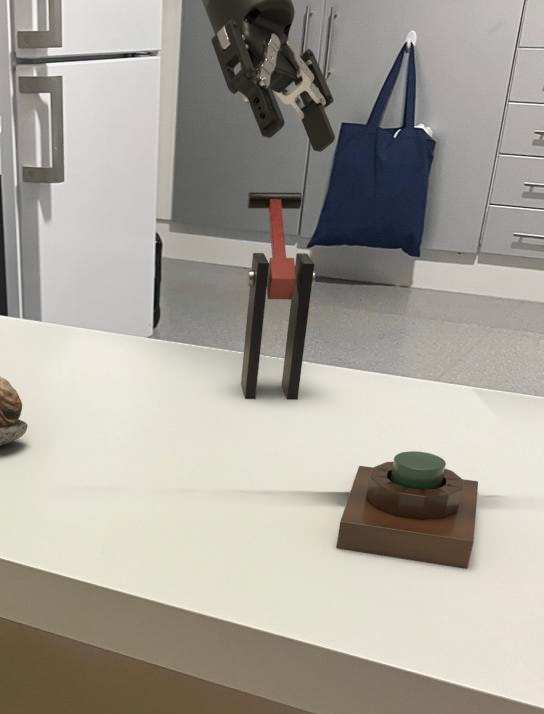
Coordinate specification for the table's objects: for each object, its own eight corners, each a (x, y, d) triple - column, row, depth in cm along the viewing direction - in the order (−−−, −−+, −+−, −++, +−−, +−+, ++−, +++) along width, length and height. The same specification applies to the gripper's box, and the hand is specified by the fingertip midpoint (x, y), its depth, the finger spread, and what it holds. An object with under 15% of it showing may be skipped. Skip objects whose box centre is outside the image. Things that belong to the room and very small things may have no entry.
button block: (355, 490, 82) (362, 443, 80) (472, 507, 79) (483, 459, 77) (335, 548, 73) (343, 498, 71) (466, 569, 71) (479, 517, 68)
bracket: (222, 388, 104) (234, 246, 96) (301, 389, 103) (319, 247, 96) (230, 422, 95) (243, 270, 88) (316, 424, 95) (337, 270, 88)
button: (392, 470, 76) (396, 448, 75) (442, 477, 75) (447, 454, 74) (387, 488, 73) (391, 466, 72) (439, 495, 72) (444, 472, 71)
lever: (246, 206, 100) (249, 184, 98) (297, 206, 100) (302, 184, 98) (252, 299, 93) (255, 278, 91) (307, 299, 93) (311, 278, 91)
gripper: (225, -62, 91) (288, 98, 89) (313, -20, 100) (372, 125, 98) (167, 2, 96) (226, 154, 94) (256, 36, 106) (311, 174, 104)
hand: (300, 139), depth 96 cm, fingers open, 8 cm apart
